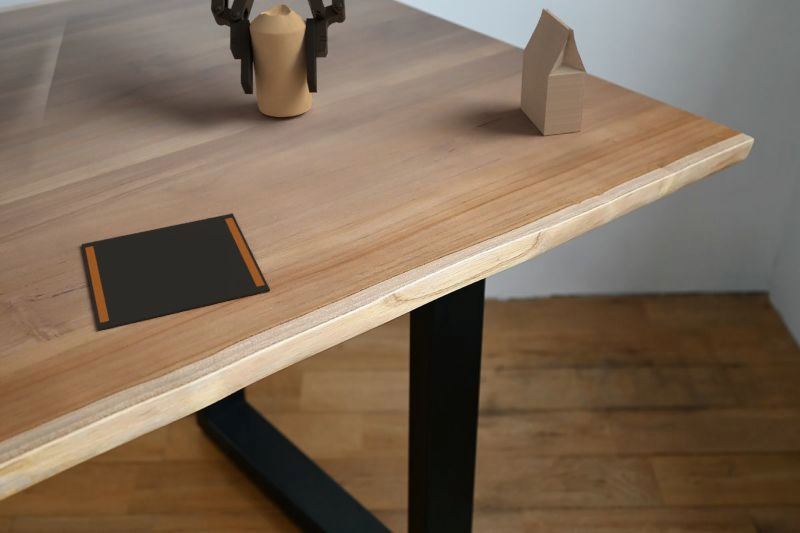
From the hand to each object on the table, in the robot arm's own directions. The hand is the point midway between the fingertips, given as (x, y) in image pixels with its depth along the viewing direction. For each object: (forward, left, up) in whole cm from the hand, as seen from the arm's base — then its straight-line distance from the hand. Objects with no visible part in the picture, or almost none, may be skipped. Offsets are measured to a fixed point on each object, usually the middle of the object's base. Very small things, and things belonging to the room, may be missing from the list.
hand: (279, 87), depth 87 cm
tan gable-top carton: (+10, +24, -4) cm, 26 cm away
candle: (-3, +1, -4) cm, 5 cm away
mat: (+22, -15, -4) cm, 26 cm away
